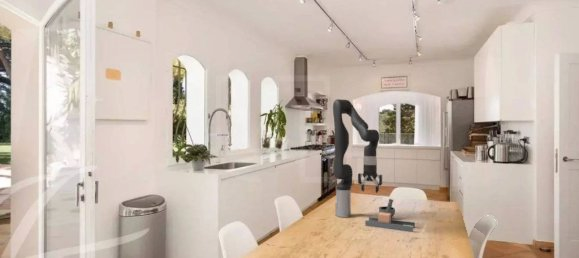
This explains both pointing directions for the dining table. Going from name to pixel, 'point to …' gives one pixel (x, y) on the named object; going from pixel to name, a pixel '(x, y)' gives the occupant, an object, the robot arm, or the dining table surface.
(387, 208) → the mortar and pestle
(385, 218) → the terracotta block
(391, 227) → the chute
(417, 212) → the dining table surface
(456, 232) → the dining table surface
